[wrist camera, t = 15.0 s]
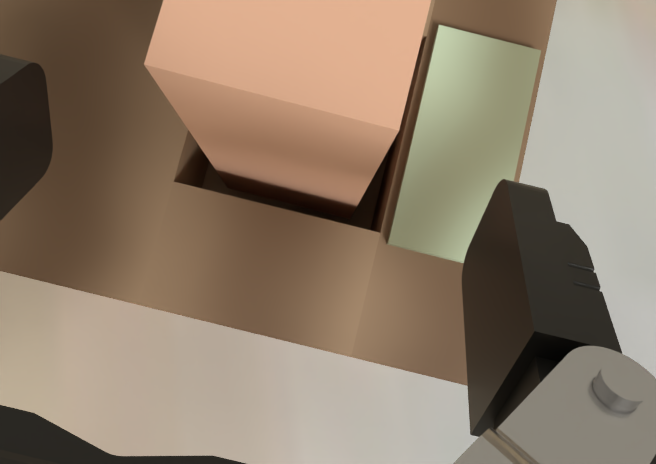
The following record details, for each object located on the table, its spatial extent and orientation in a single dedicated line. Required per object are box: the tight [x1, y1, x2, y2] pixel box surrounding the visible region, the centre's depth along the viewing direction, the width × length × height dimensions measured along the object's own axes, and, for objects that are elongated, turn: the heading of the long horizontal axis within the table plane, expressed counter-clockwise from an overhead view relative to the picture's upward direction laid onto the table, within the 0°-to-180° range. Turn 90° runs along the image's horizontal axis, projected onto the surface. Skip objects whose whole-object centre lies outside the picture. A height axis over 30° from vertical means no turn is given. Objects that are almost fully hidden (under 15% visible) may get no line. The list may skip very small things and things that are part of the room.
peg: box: [144, 0, 431, 219], centre depth 14 cm, size 4×4×10 cm
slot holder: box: [0, 0, 557, 386], centre depth 18 cm, size 24×12×5 cm, turn 76°
